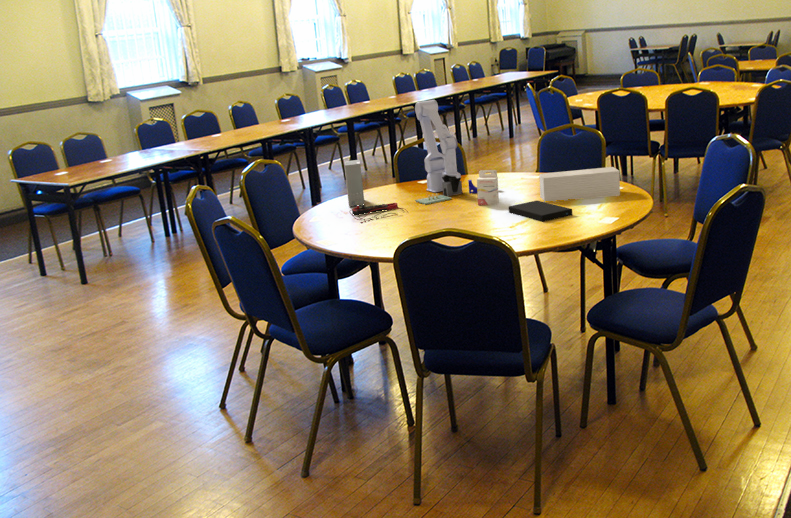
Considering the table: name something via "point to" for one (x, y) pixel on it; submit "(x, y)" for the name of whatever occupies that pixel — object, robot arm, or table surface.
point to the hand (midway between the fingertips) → (452, 191)
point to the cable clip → (472, 187)
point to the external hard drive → (540, 211)
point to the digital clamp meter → (374, 209)
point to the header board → (433, 199)
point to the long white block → (580, 184)
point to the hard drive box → (354, 182)
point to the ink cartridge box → (487, 188)
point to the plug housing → (448, 188)
